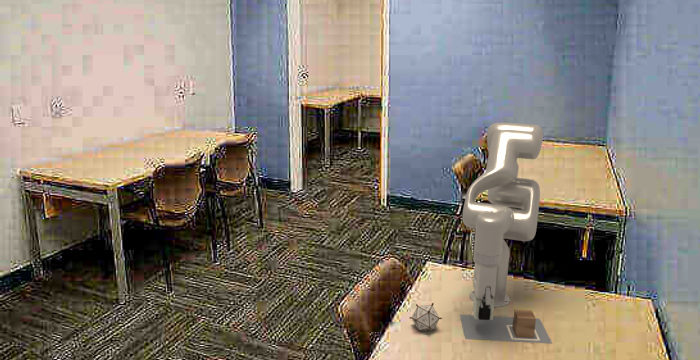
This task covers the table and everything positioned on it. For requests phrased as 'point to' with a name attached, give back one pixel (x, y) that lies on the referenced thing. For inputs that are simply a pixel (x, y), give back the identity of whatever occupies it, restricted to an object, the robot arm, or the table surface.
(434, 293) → the table surface
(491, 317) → the sage block
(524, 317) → the walnut block
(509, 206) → the robot arm
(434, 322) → the game die
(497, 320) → the board
